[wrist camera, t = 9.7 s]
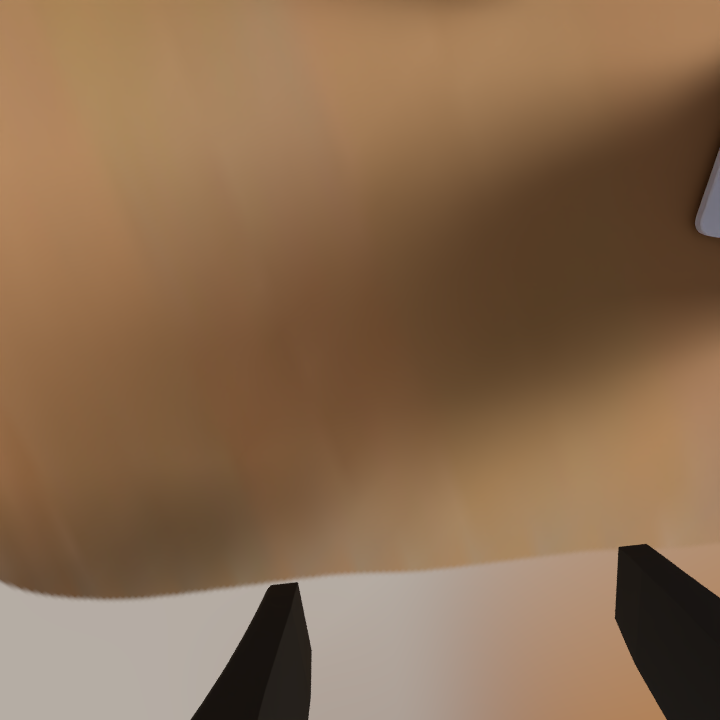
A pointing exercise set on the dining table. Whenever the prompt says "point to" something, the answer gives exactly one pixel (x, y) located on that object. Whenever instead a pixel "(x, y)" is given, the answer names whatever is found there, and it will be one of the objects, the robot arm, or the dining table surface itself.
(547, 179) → the dining table surface
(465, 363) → the dining table surface
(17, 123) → the dining table surface
